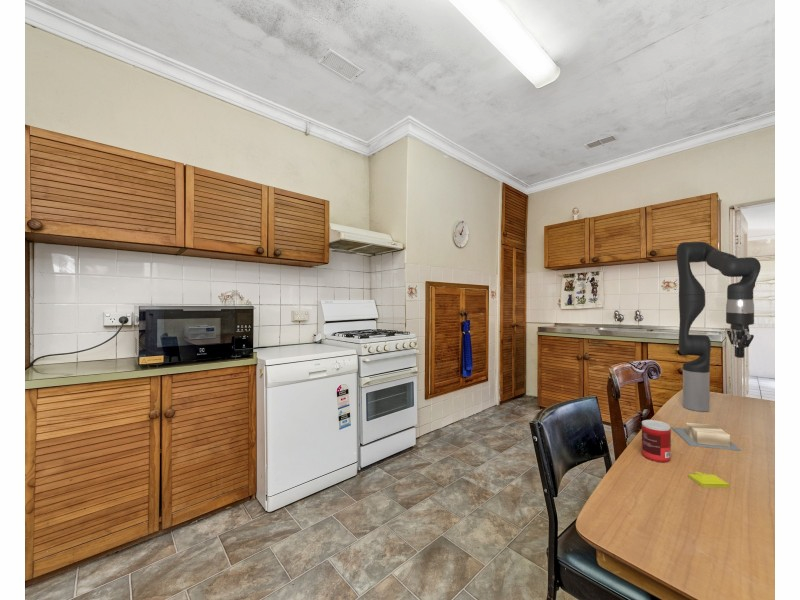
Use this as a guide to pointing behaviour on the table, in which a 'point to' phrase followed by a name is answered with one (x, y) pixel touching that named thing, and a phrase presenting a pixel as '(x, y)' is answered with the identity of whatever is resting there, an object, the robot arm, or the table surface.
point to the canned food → (656, 441)
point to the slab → (707, 434)
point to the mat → (691, 442)
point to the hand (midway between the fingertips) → (739, 357)
